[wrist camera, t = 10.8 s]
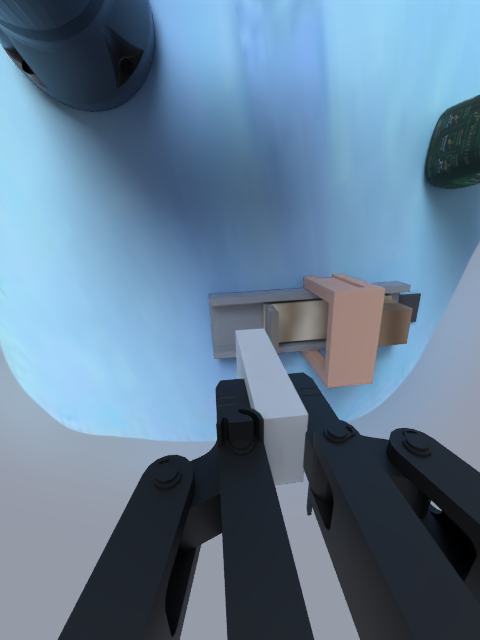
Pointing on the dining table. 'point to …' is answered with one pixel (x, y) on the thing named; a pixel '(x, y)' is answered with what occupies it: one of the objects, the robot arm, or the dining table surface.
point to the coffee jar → (456, 147)
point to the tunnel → (347, 329)
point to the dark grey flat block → (411, 303)
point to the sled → (312, 320)
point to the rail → (248, 314)
